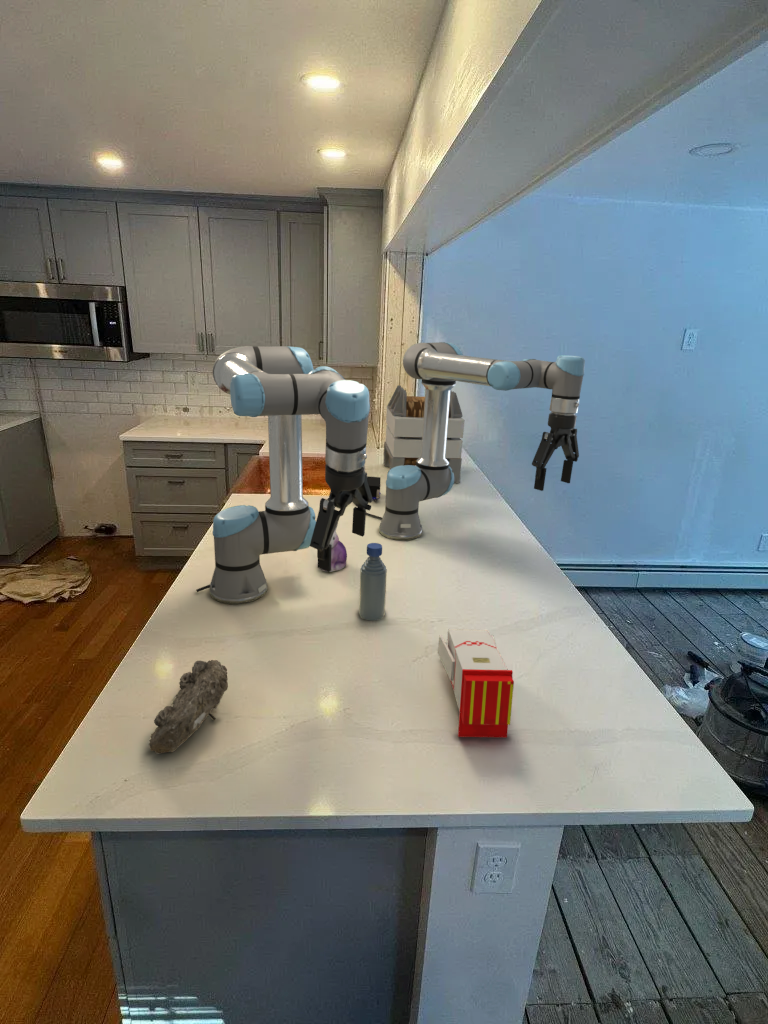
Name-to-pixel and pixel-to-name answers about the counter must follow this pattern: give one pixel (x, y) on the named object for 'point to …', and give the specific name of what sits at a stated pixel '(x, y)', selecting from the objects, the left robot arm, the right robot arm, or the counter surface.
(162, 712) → the fossil
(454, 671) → the toy
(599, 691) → the counter surface
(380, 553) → the cap
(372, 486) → the figurine character
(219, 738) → the counter surface
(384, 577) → the bottle
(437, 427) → the right robot arm
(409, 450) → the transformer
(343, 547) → the figurine
